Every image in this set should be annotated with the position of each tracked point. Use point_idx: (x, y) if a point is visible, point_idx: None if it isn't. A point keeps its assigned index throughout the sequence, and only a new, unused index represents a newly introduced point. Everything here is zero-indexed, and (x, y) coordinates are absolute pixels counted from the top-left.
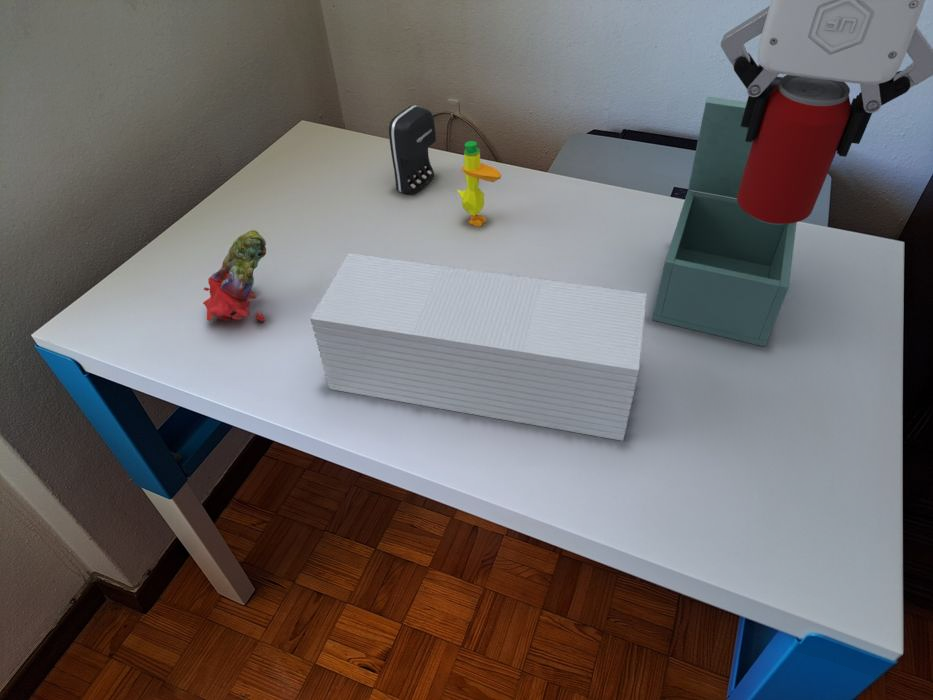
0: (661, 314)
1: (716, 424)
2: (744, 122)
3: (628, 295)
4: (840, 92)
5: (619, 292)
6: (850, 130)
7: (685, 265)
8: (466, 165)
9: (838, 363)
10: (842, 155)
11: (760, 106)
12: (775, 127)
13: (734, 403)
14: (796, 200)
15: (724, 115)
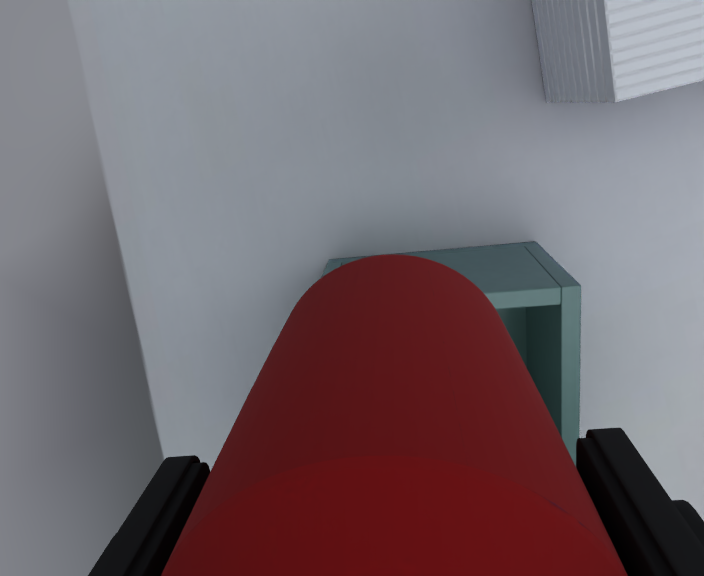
0: (525, 247)
1: (362, 27)
2: (680, 511)
3: (661, 70)
4: None
5: (686, 72)
6: (140, 543)
7: (533, 291)
8: None
9: (210, 272)
10: (183, 456)
11: (687, 570)
12: (528, 449)
13: (345, 96)
14: (322, 297)
15: None
